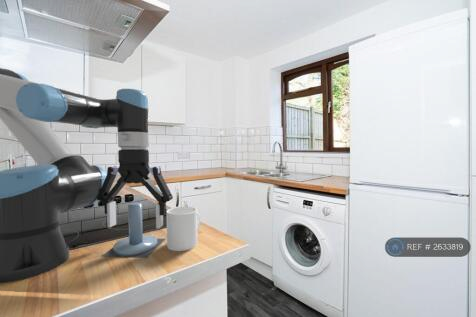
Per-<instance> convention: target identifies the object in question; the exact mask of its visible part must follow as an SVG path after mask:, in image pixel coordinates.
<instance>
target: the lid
mask: <svg viewBox="0 0 476 317" xmlns="http://www.w3.org/2000/svg"><path fill="white" fill-rule="evenodd" d="M127 206H128V207H127V208H128V212H127V214H128V237H125V238H122V239H119V240H118V241H116V242H115V243H114V244H113V247H112V248H113V252H114V253H115V254H117V255H120V256H133V255H139V254H143V253H146V252H149V251H151V250H153V249H154V248H155V247H156V246H157V237H156V236H154V235H150V234H144V233H143V203H142V202H131V203H128V204H127Z"/></svg>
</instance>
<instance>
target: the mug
mask: <svg viewBox="0 0 476 317" xmlns="http://www.w3.org/2000/svg"><path fill="white" fill-rule="evenodd" d="M165 215H166V216H165V218H166V246H167V249H168V250H170V251H173V252H182V251H184V252H185V251H188V250H189V251H190V250H191V249H194V248H195V247H196V246H197V245H198V231H199V230H200V226H201V217H200V214H199V212H198V209H197V208H196V207H193V206H177V207H172V208H169V209H166V214H165Z"/></svg>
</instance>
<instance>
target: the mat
mask: <svg viewBox="0 0 476 317" xmlns="http://www.w3.org/2000/svg"><path fill="white" fill-rule="evenodd" d="M156 238H157V237H156ZM165 240H166V238H157V246H156V247H155V248H154V249H153V250H151V251H149V252H146V253H143V254H139V255H133V256H120V255H117V254H115V253H114V252H113V247H112V248H110V249H109V250H107V251H106V252H105V253H103V254H102V255H101V257H103V258H104V257H105V258H107V257H110V258H140V259H141V258H142V259H143V258H144V259H145V258H146V259H148V258H149V257H150V255H151V254H152V253H153V252H155V250H156V249H157V248H159V246H160V245H162V243H163V242H164V241H165Z"/></svg>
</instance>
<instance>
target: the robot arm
mask: <svg viewBox="0 0 476 317" xmlns="http://www.w3.org/2000/svg"><path fill="white" fill-rule="evenodd" d="M148 104H149V103H148V96H147V94H146V93H145V92H144V91H142V90H139V89H135V88H121V89H117V91H116V95H115V98H112V99H111V98H110V99H100V98H99V99H98V98H94V97H91V96H87V95H84V94H80V93H75V92H72V91H68V90H67V89H66V90H65V89H61V88H57V87H54V86H52V85H48V84H44V83H38V82H34V81H30V80H28V78H26V76H24V75H22V74H21V73H19V72H15V71H13V70H10V69H7V68H2V67H0V120H1V121H2V122H3V124H4V125H5V126H6V127H7V129H8V130H9V131H10V132H11V133H12V134H11V135H13V136H14V137H15V139H16V140H17V141H18V142H19V143H20V145H21V146H22V148H24V150H25V151H26V153H27V154H28V155H29V156H30V157H31V159H33V161H34V162H35V164H36V165H35V164H34V165H28V166H27V165H25V166H18V167H13V168H7V169H3V170H0V284H6V283H12V282H18V281H22V280H26V279H30V278H34V277H36V276H39V275H42V274H45V273H48V272H50V271H52V270H55V269H56V268H58V267H60V266H61V265H63V264H64V263H65V262H66V261H68V259H69V258H70V248H69V245H67V243H66V241H65V240H66V239H65V238H64V235H63V233H62V230H61V228H60V227H61V226H60V215H61V214H63V213H67V212H71V211H74V210H77V209H81V208H85V207H90V206H93V205H94V204H96V203H99V202H103V204H104V205H103V206H104V208H103V209H104V214H105V215H107V216H106V217H107V218H106V219H107V220H106V221H107V223H106V224H107V225H106V226H107V228H112V227H114V226H116V225H117V206H116V204H117V202H116V200H115V198H116V196H117V195H118V194H119V193H120V191H121V190H122V189H123V188H124V186H125V185H126V184H141V185H142V186H144V187H145V188H146V190H148V192H149V193H150V195H152V196H153V197H154V198H155V201H157V203H155V228H156V229H160V228H162V227H163V226H164V215H166V212H167V203H168V202H169V201H172V200H173V199H174V197H173V194H172V193H171V190H170V188H169V187H168V185H167V182H166V181H165V179H164V176H163V174H162V169H161V166H159V165H158V166H152V167H150V165H149V164H150V153H149V152H150V150H149V149H147V148H149V146H150V144H149V105H148ZM49 123H61V124H67V125H68V124H69V125H70V124H71V125H74V126H75V125H76V126H81V127H82V128H89V129H91V128H92V129H99V128H100V129H103V128H117V146H118V148H120V149H119V150H118V151H117V154H118V156H117V158H118V160H117V161H118V164H119V166H116V165H112V166H108V167H107V171H106V170H105V169H104V168H103V167H101V166H99V165H90V163H89V162H87V160H86V159H85V158H84V157H83V156H82V155H80V154H74V153H73V152H72V151H71V150H70V148H69V147H68V146H67V145H66V143H64V141H63V140H62V139H61V138H60V136H59V135H57V133H56V132H55V130H53V128H52V127H51V126H50V125H49ZM150 173H151V174H150ZM118 174H119V178H118V179H117V180H116V183H115V185H114V186H113V184H114V182H115V179H116V178H117V175H118ZM149 174H150V175H152V176H153V178H154V181H155V182H156V185H157V186H156V185H155V184H154V182H153V180H152V179H151V177H150V176H149ZM112 186H113V187H112ZM114 200H115V201H114Z"/></svg>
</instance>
